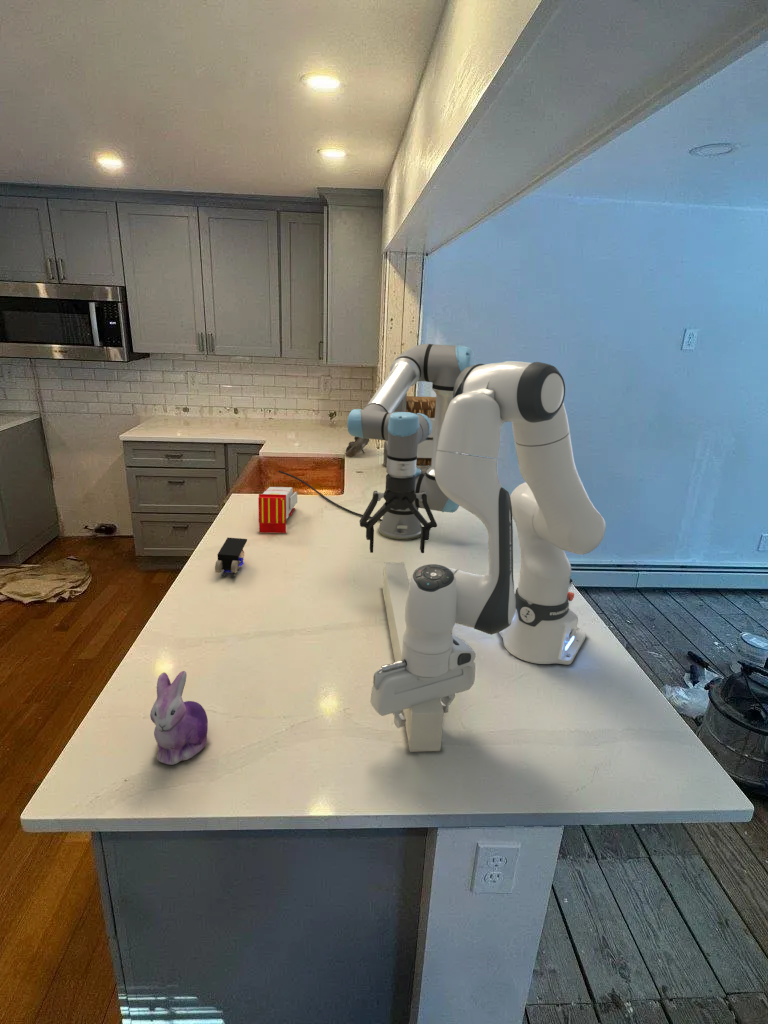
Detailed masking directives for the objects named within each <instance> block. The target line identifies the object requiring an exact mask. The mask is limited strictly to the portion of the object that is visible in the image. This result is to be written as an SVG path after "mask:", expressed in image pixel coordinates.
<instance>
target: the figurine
mask: <svg viewBox="0 0 768 1024" xmlns="http://www.w3.org/2000/svg"><path fill="white" fill-rule="evenodd" d="M187 676H188V675H187V672H186V671H185V670H182V671H180V672H179V673H178V674H177V675H176V677H175V679H173V681H172V682H171V681H170V677H169V675H168V674H167V672H162V673H161V674H160V675H159V676H158V677H157V681H156V699H155V701H154V702H153V705H152V708H151V710H150V715H149V717H150V720H151V722H152V723H153V724H154V725H155V727H154V729H153V736H154V740H155V742H156V743H157V747H158V750H157V751H158V752H157V757H156V758H157V761H159V762H160V763H162V764H165V765H168V766H169V765H171V766H172V765H177V764H178V763H180V762H182V761H188V760H190V759H191V758H193V757H194V756H196V755H197V754H199V753H200V752H201V751H202V750H203V749H204V748H205V747H206V745H207V741H208V730H209V729H208V728H209V727H208V726H209V723H208V721H209V720H208V715H207V713H206V710H205V708H204V707H203V705H202V704H200V703H199V702H197V701H194V700H186V701H184V700H183V697H182V696H183V693H184V688H185V687H186V681H187Z"/></svg>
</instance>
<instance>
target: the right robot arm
mask: <svg viewBox="0 0 768 1024" xmlns="http://www.w3.org/2000/svg"><path fill="white" fill-rule="evenodd" d="M565 397H566V383H565V379H564V377H563V376H562V374H561V372H560V371H559V369H558V368H557V367H556V366H554V365H552V364H549V363H546V362H541V361H534V362H526V361H518V360H517V361H515V360H514V361H513V360H507V361H506V360H505V361H503V362H493V363H487V364H486V363H476V365H473V366H470V367H467V368H465V369H464V370H463V371H462V372H461V373H460V374H459V376H458V378H457V380H456V382H455V385H454V390H453V399H452V401H451V402H450V404H449V406H448V409H447V412H446V415H445V418H444V421H443V425H442V428H441V432H440V437H439V441H438V447H437V450H443V451H450V452H457V453H461V454H457V453H450V452H443V451H437V454H436V461H435V479H436V482H437V484H438V486H439V488H440V489H441V491H442V492H443V493H444V494H445V495H446V496H447V497H448V498H449V499H450V500H452V501H453V502H454V503H456V504H458V505H459V507H461V508H462V509H464V510H466V511H468V512H469V513H470V514H472V515H473V516H475V517H476V518H478V519H479V520H480V522H482V524H483V525H484V527H485V529H486V531H487V537H488V574H487V575H482V574H477V573H472V572H468V571H464V570H459V569H457V568H453V567H447V566H445V565H441V564H436V563H435V564H434V563H433V564H432V563H431V564H424V565H422V566H419V567H418V568H416V569H415V570H413V572H412V574H411V577H410V579H409V587H408V592H407V598H406V605H405V622H406V630H405V632H404V635H403V646H402V660H401V661H397V662H395V661H394V662H393V663H387V664H383V665H382V666H380V668H379V669H377V671H375V672H374V673H373V678H372V683H373V684H372V688H371V694H370V705H371V706H372V708H373V709H374V711H375V712H376V713H377V714H378V715H379V716H382V717H384V716H387V715H390V714H392V715H393V723H394V725H395V726H396V728H397V729H400V728H403V727H406V726H405V725H406V724H405V722H406V718H405V717H404V714H403V710H404V709H407V708H410V707H411V706H414V705H417V704H420V703H424V702H427V701H430V700H433V699H437V698H440V700H441V703H442V707H443V711H444V714H446V713H448V712H449V708H450V707H449V706H450V705H451V704H452V702H453V701H454V699H455V698H456V695H457V694H459V693H463V692H465V691H469V690H470V689H472V687H473V686H474V684H475V680H476V664H475V659H476V651H475V650H474V649H473V648H472V647H471V646H470V645H469V644H468V643H467V642H465V640H463V639H462V638H461V637H459V636H457V635H456V634H453V629H454V626H455V624H458V625H461V626H465V627H468V628H469V627H470V628H473V630H477V631H479V632H483V633H484V634H485V633H486V634H487V635H490V636H492V635H495V634H497V633H499V635H500V636H501V637H502V642H503V643H502V644H503V646H504V648H505V649H506V651H507V652H508V653H510V655H512V656H514V657H515V658H517V659H519V660H522V661H525V662H528V663H532V664H536V665H537V664H538V665H551V664H560V665H565V666H566V665H571V664H573V661H574V659H575V658H576V656H577V654H578V652H579V650H580V648H581V647H582V645H583V643H584V641H585V639H586V633H585V632H584V631H583V630H582V629H581V628H579V627H578V625H579V616H578V615H577V613H576V612H574V611H573V610H571V609H570V602H572V601H573V600H574V598H575V593H574V592H571V591H569V589H570V583H573V582H574V581H573V579H572V578H571V576H572V565H571V561H570V559H569V558H568V556H567V554H566V552H569V553H572V554H574V555H586V554H589V553H591V552H593V551H594V550H596V549H597V548H598V547H599V546H600V545H601V543H602V542H603V540H604V537H605V534H606V530H607V529H606V528H607V527H606V520H605V518H604V517H603V516H602V514H601V513H600V512H599V511H598V509H597V508H596V507H595V506H594V504H593V502H592V501H591V498H590V497H589V494H588V493H587V490H586V489H585V486H584V484H583V481H582V479H581V476H580V475H579V472H578V469H577V466H576V463H575V458H574V452H573V451H574V450H573V444H572V437H571V430H570V424H569V419H568V418H569V417H568V414H567V411H566V406H565V402H564V401H565ZM508 422H511V426H512V435H513V440H514V447H515V453H516V458H517V465H518V469H519V473H520V476H521V478H522V479H523V481H524V482H523V483H522V482H521V483H520V484H519V485H518V486H516V487H515V488H514V489H513V490H512V492H511V494H510V493H509V491H508V490H507V489H505V488H504V487H503V486H502V484H501V482H500V478H499V473H498V461H499V460H498V459H499V454H500V446H501V428H502V427H503V424H504V423H508ZM513 522H514V524H515V527H516V533H517V537H518V538H517V539H518V544H519V549H520V550H519V552H520V568H519V576H518V583H517V584H518V585H517V587H516V589H515V581H514V532H513V531H514V527H513Z"/></svg>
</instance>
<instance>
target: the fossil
mask: <svg viewBox="0 0 768 1024" xmlns="http://www.w3.org/2000/svg"><path fill="white" fill-rule="evenodd" d="M353 437H354V441H349V442H348V445H347V447H346V449H345V455H346V457H348V458H351V457H354V456H356V455H357V454H359V453H361V452H362V454H365V451H364V448H365V447H366V446H368V444H369V443H370V439H367V438H361V437H355V436H353Z"/></svg>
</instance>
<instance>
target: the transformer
mask: <svg viewBox="0 0 768 1024" xmlns="http://www.w3.org/2000/svg"><path fill="white" fill-rule="evenodd" d="M407 394H408V392H407V393H406V394H405V396H404V397H403V399H402V401H401V402H400V404H399V405H398V407H397V408H396V410H395V412H410V413H421V414H424V415H426V416H427V417H428V418H429V419H430V421H431V424H432V431H431V433H430V435H429V436H428V438H427V439H426V440H425V441H423V442H421V443H419V444H418V447H417V461H416V467H417V466H418V467H431V461H432V448H433V434H434V421H435V407H436V396H415V395H414V396H413V395H412V396H411V395H407ZM395 412H394V413H395ZM387 450H388V441H384V442H383V466H384V467H387ZM458 454H462V453H458Z"/></svg>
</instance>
